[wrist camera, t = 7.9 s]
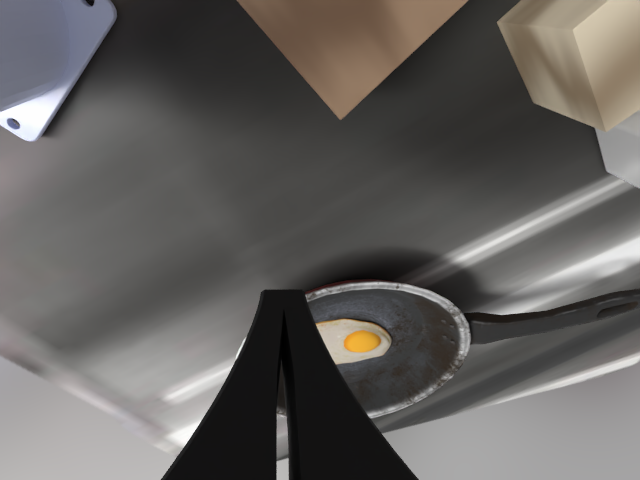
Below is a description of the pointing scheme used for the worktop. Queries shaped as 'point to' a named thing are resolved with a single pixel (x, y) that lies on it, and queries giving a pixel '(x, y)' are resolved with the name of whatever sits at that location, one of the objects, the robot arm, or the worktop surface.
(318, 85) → the walnut block
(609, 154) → the jar
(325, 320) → the frying pan
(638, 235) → the worktop surface
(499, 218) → the worktop surface
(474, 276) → the worktop surface
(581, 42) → the maple block
